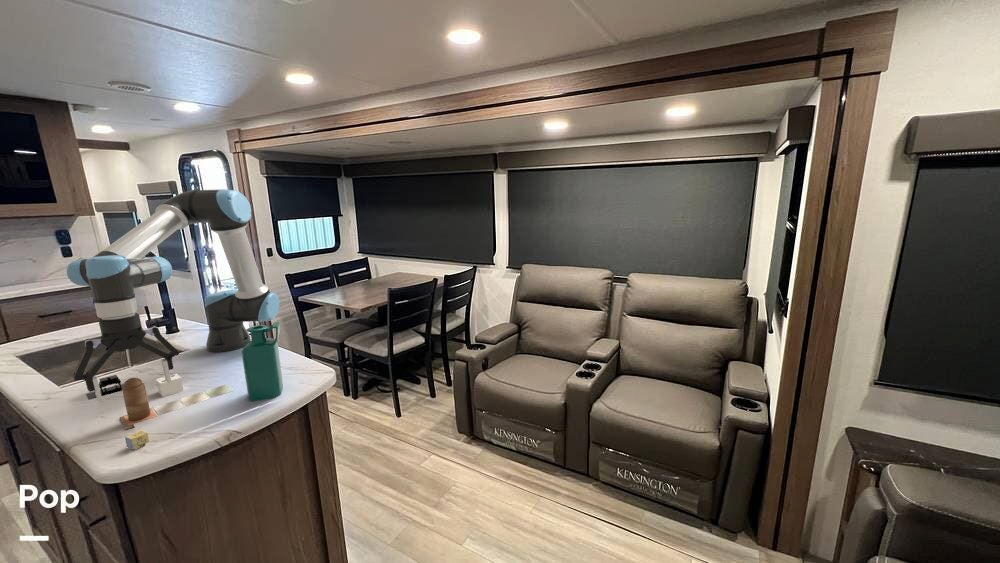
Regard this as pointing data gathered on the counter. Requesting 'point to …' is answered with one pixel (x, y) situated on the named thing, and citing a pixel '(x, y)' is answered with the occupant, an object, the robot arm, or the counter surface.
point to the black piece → (109, 390)
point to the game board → (178, 404)
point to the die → (169, 385)
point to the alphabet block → (136, 440)
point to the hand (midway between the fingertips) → (136, 390)
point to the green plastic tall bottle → (262, 364)
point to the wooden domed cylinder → (136, 399)
